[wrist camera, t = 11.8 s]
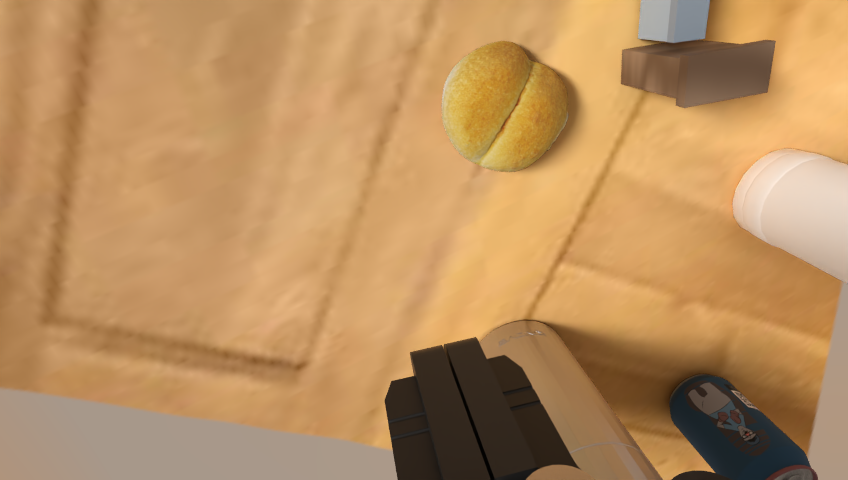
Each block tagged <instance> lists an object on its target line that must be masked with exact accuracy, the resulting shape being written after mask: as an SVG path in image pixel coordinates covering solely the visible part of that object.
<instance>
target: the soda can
mask: <svg viewBox="0 0 848 480" xmlns="http://www.w3.org/2000/svg"><path fill="white" fill-rule="evenodd" d="M669 405H670V414H671V419H672V421H673V423H674V424H675V425H676V427H677V428H678V429H679V430H680V431H681V432H682V434H683V435H684V436H685V437H686V438H687V440H688V441H689V442H690V443H691V444H692V445H693V447H694V448H695V449H696V450H697V451H698V453H699V454H700V455H701V456H702V457H703V458H704V460H705V461H706V462H707V463H708V464H709V465H710V467H711V468H712V469H713V470H714V471H715V473H716V474H720V475H722V476H725V477H727V478H730V479H732V480H818V477H817V474H816V472H815V471H814V470H813V469H812V468H811V466H810V464H809V461H808V459H807V456H806V454H805V453H804V451H803V450H802V449H801V448H800V447H799V446H797V445H796V444H795V443H794V442H793V441H792V440H791V439H790V438H789V437H788V436H787V435H786V434H785V433H783V432H782V431H781V430H780V429H779V428H778V427H777V426H776V425H775V424H774V423H773V422H772V421H771V420H769V419H768V418H767V417H766V416H765V415H764V414H763V413H762V412H761V411H760V410H759V409H758V408H757V407H755V406H754V405H753V404H752V403H751V402H750V401H749V400H748V399H747V398H746V397H745V396H744V395H743V394H741V393H740V392H739V391H738V390H737V389H736V388H735V387H734V386H733V385H732V384H731V383H730V382H728V381H727V380H725V379H723V378H721V377H717V376H713V375H707V374H699V375H695V376H692V377H689V378H687V379H686V380H684V381H683V382H681V383H680V384H679V385H678V386H677V387H676V388H675V390H674V391H673V393H672V395H671V397H670V401H669Z"/></svg>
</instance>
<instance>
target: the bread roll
mask: <svg viewBox="0 0 848 480" xmlns="http://www.w3.org/2000/svg"><path fill="white" fill-rule="evenodd" d="M567 111H568V94H567V90H566V87H565V85H564V84H563V82H562V80H561V79H560V77H559V76H558V75H557V74H556V73H555V72H554V71H553V70H552V69H550V68H549V67H547V66H546V65H543V64H541V63H537V62H533V61H531V60H529V59H528V57H527V55H526V54H525V52H524V51H523V49H522V48H521V47H519V46H518V45H516V44H515V43H513V42H507V41H499V42H494V43H490V44H487V45H485V46H483V47H480V48H478V49H476V50H474V51H473V52H471V53H470V54H468V55H467V56H465V57H464V58H463V59H462V60H461V61H460V62H458V63H457V64H456V65H455V66H454V68H453V69H452V71H451V72H450V74H449V76H448V78H447V80H446V82H445V85H444V89H443V96H442V120H443V125H444V128H445V130H446V133H447V135H448V137H449V139H450V141H451V143H452V144H453V146H454V147H455V149H456V150H457V151H458V152H459V153H460V154H461V155H462V156H463V157H464V158H466V159H467V160H469V161H471V162H473V163H475V164H478V165H480V166H482V167H484V168H487V169H490V170H494V171H501V172H515V171H519V170H522V169H525V168H527V167H528V166H530V165H531V164H532V163H534V162H535V161H536V160H537V159H538V158H540V157H541V156H542V155H543V154H544V153H545V152H546V151H548V150H549V149H550V148H551V145H552V143H554V142H555V140H556V138H557V137H558V136H559V134H560V132H561V131H562V130H563V128H564V127H565V125H566V122H567V120H568V112H567Z"/></svg>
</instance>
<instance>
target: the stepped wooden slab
mask: <svg viewBox="0 0 848 480" xmlns="http://www.w3.org/2000/svg"><path fill="white" fill-rule="evenodd" d="M775 42H776V41H771V40H762V41H757V42H751V43H745V44H734V43H723V42H713V41H703V40H691V41H683V42H676V43H670V42H665V43H659V44H653V45H647V46H642V47H636V48H630V49H624V50H622V72H621V84H623V85H627V86H631V87H635V88H638V89H642V90H646V91H650V92H653V93H657V94H661V95H665V96H668V97H672V98H676V106H679V107H683V108H686V107H691V106H697V105H702V104H708V103H713V102H718V101H724V100H729V99H734V98H740V97H745V96H750V95H756V94H761V93H767V92H768V86H769V79H770V73H771V67H772V61H773V54H774V48H775Z"/></svg>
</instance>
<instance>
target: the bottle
mask: <svg viewBox="0 0 848 480" xmlns="http://www.w3.org/2000/svg"><path fill="white" fill-rule="evenodd" d="M732 205H733V214H734V218H735V219H736V221H737V223H738V224H739V226H740V227H742V228H743V229H745V230H747V231H749V232H750V233H751V234H753V235H754V236H756V237H758V238H759V239H761V240H763V241H765V242H767V243H768V244H770V245H772V246H775V247H779V248H781V249H783V250H784V251H786V252H788V253H790V254H792V255H794V256H796V257H798V258H800V259H801V260H803V261H805V262H807V263H809V264H811V265H813V266H815V267H817V268H818V269H820V270H822V271H824V272H826V273H828V274H830V275H832V276H834V277H835V278H837V279H839V280H841V281H843V282H845V283H847V284H848V164H845V163H841V162H838V161H835V160H832V159H831V158H829V157H826V156H823V155H820V154H816V153H811V152H805V151H802V150H798V149H790V148H784V149H780V150H776V151H773V152H770V153H768V154H767V155H765V156H764V157H762V158H760V159H759V160H757V161H756V162H755V163H754V164H753V165H752V166H751V167H750V168H749V169H748V170H747V171H746V173H745V174H744V175H743V177H742V179H741V180H740V182H739V184H738V186H737V188H736V190H735V195H734V199H733V203H732Z"/></svg>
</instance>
